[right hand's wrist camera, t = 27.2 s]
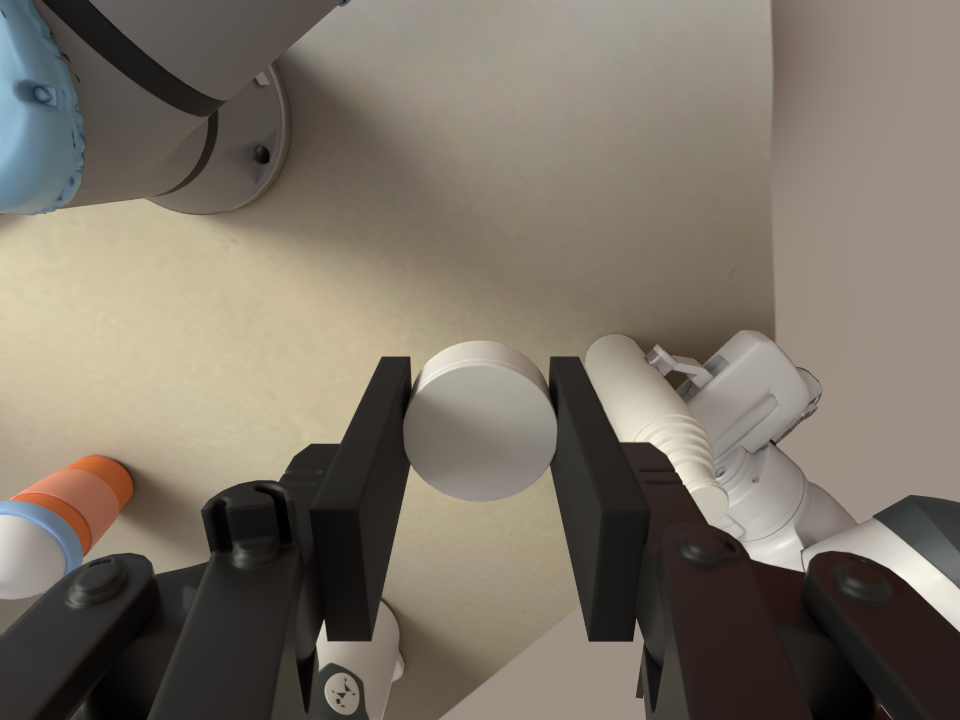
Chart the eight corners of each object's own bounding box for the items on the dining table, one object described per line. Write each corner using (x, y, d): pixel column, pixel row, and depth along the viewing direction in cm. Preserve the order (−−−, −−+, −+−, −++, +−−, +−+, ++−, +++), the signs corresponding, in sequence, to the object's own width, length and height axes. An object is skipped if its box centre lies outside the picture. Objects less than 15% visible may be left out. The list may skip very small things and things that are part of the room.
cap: (386, 428, 15) (375, 462, 13) (452, 314, 14) (448, 335, 12) (504, 486, 15) (507, 524, 14) (577, 381, 14) (589, 410, 13)
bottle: (629, 324, 48) (738, 450, 28) (648, 372, 50) (765, 525, 29) (576, 347, 49) (642, 487, 28) (596, 394, 51) (674, 558, 30)
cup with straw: (167, 493, 55) (27, 641, 38) (105, 531, 57) (-56, 690, 40) (102, 426, 52) (-81, 554, 35) (38, 469, 54) (-165, 610, 37)
